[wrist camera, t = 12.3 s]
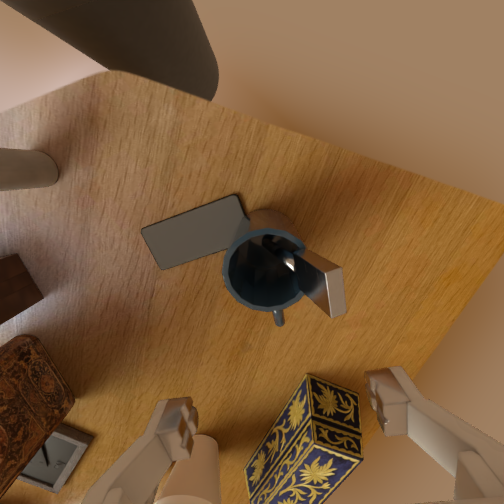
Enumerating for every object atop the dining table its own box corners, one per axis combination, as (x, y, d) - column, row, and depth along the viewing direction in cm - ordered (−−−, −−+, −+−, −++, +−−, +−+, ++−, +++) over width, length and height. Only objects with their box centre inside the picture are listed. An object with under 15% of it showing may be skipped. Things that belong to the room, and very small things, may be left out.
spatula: (257, 229, 32) (325, 273, 17) (266, 227, 33) (342, 267, 17) (263, 256, 34) (331, 319, 18) (272, 253, 34) (347, 312, 18)
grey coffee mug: (226, 216, 33) (211, 239, 22) (291, 202, 32) (306, 219, 22) (247, 294, 37) (242, 344, 27) (305, 284, 36) (323, 331, 26)
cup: (243, 446, 49) (237, 545, 36) (205, 471, 52) (188, 570, 39) (197, 416, 46) (174, 511, 34) (161, 444, 50) (126, 541, 37)
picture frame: (17, 404, 47) (-6, 459, 53) (7, 414, 45) (-16, 470, 51) (93, 436, 49) (62, 485, 56) (86, 447, 48) (56, 496, 54)
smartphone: (138, 229, 33) (236, 193, 31) (141, 228, 34) (237, 192, 32) (160, 271, 36) (254, 240, 33) (163, 269, 36) (254, 238, 34)
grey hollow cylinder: (35, 189, 32) (-61, 199, 23) (17, 154, 31) (-93, 149, 21) (65, 183, 32) (-20, 190, 22) (48, 147, 30) (-50, 138, 21)
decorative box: (243, 469, 52) (240, 528, 43) (306, 373, 42) (318, 425, 33) (288, 482, 53) (293, 542, 44) (359, 392, 43) (384, 447, 34)
